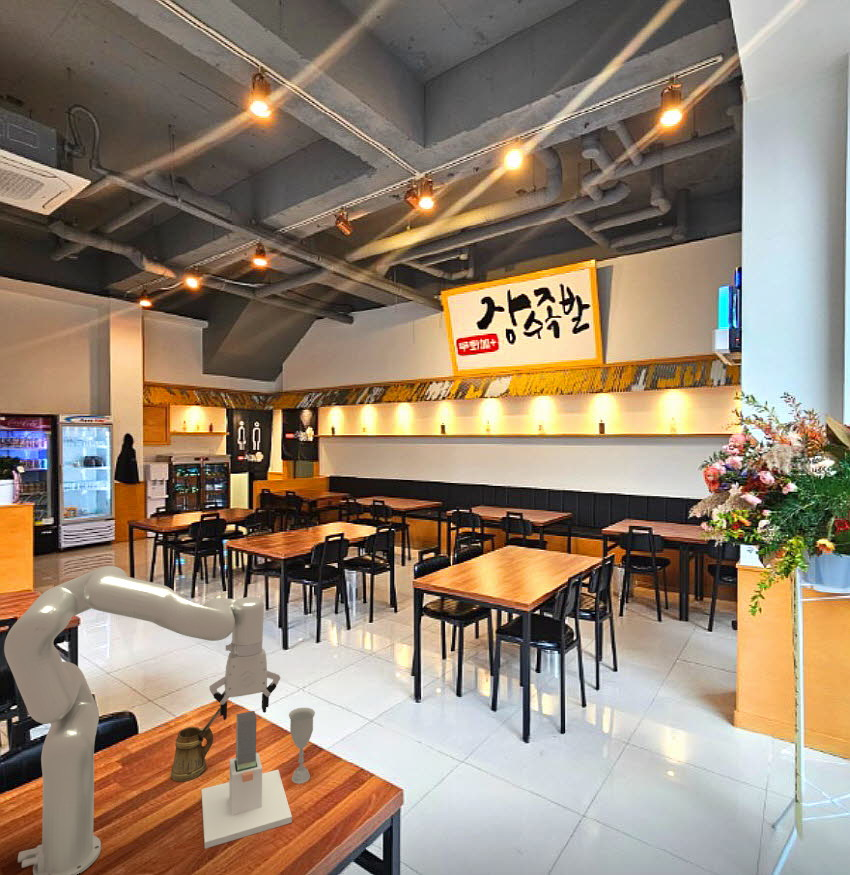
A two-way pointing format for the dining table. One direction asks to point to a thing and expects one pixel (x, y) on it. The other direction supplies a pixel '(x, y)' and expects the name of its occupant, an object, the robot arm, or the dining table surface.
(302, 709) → the chalice
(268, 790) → the stand
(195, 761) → the wooden mug
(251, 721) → the column
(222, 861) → the dining table surface
